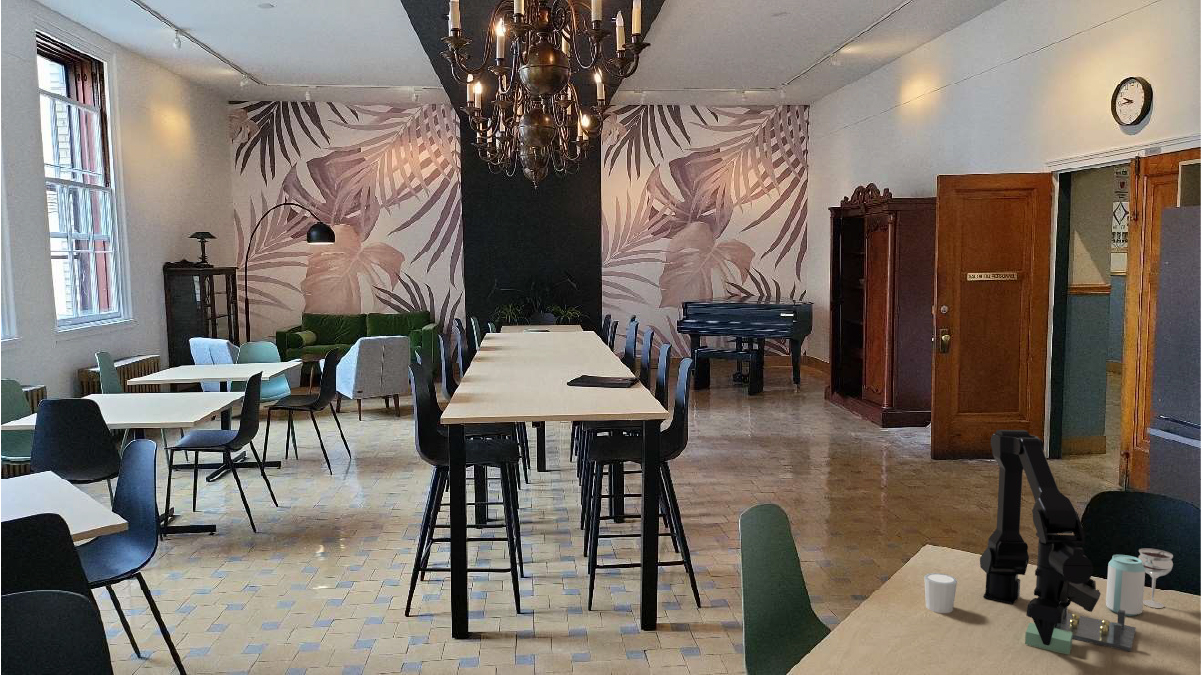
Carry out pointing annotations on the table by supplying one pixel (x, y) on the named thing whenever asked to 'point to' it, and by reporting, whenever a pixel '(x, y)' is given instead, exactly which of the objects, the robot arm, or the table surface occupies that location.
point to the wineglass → (1155, 568)
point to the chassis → (1099, 630)
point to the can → (1125, 585)
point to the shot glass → (940, 592)
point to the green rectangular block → (1059, 639)
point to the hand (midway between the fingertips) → (1048, 639)
